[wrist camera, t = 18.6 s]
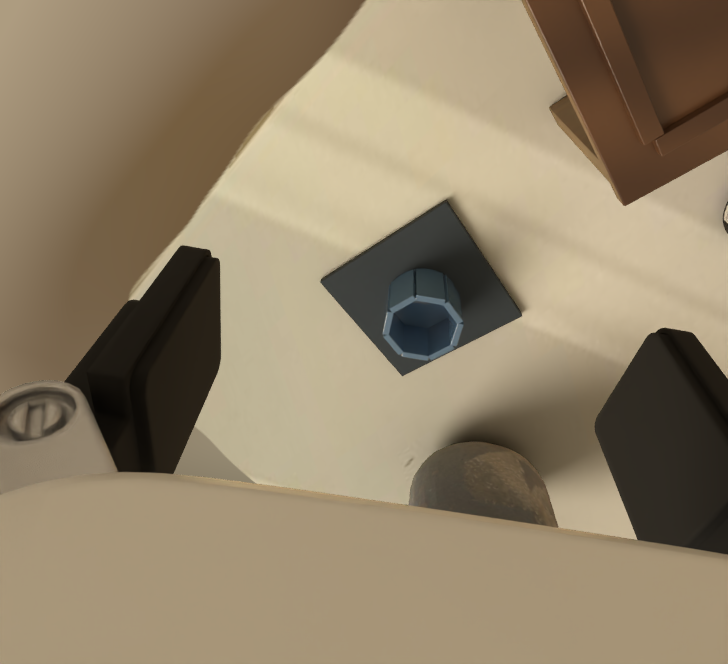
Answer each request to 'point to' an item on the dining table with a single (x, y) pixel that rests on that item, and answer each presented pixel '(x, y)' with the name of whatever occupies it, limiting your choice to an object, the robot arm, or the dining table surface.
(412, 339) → the bowl small
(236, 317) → the dining table surface
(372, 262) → the mat
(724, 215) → the beverage can
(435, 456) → the bowl
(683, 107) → the small table
